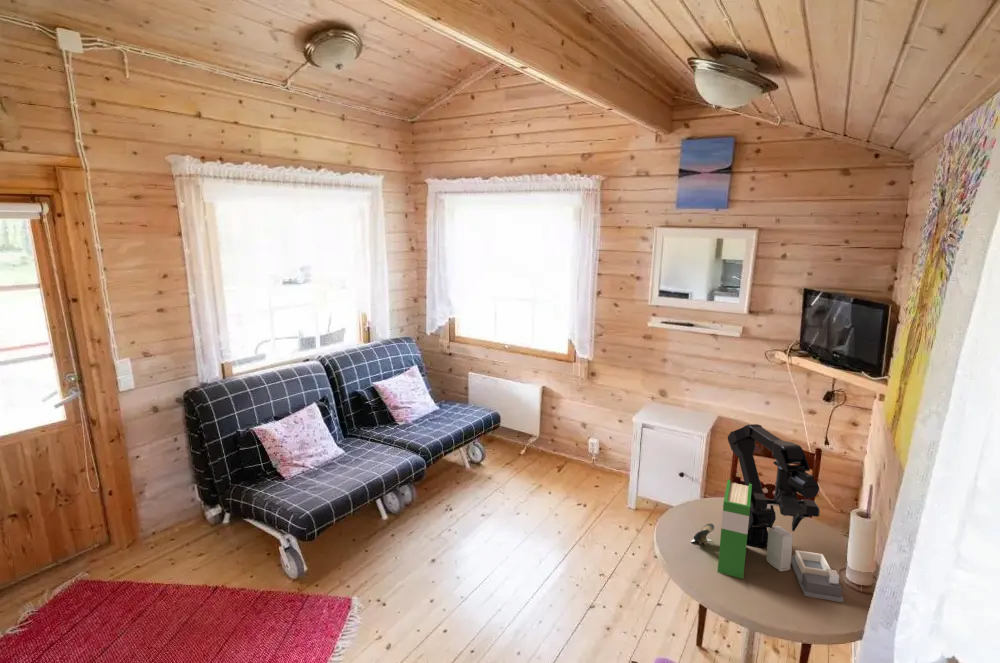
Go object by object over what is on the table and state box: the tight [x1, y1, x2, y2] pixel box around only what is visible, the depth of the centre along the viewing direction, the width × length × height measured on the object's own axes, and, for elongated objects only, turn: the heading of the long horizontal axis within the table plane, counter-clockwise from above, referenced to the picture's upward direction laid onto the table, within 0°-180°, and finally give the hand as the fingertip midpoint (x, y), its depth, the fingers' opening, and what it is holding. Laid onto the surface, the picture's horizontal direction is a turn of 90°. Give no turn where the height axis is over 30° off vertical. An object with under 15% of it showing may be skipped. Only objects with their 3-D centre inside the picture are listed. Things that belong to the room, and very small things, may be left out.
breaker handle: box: [826, 568, 840, 585], centre depth 155 cm, size 2×3×3 cm
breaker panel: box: [791, 549, 844, 603], centre depth 163 cm, size 10×20×4 cm, turn 164°
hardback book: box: [717, 478, 752, 580], centre depth 170 cm, size 18×7×24 cm, turn 153°
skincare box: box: [766, 525, 794, 572], centre depth 168 cm, size 6×4×12 cm
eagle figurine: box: [690, 523, 715, 549], centre depth 178 cm, size 8×7×9 cm
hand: (781, 529), depth 167 cm, fingers open, 6 cm apart
